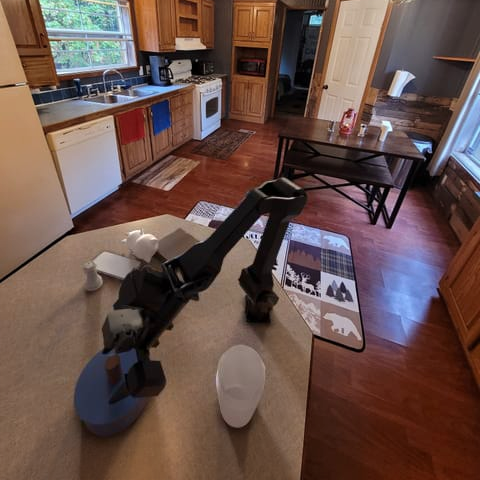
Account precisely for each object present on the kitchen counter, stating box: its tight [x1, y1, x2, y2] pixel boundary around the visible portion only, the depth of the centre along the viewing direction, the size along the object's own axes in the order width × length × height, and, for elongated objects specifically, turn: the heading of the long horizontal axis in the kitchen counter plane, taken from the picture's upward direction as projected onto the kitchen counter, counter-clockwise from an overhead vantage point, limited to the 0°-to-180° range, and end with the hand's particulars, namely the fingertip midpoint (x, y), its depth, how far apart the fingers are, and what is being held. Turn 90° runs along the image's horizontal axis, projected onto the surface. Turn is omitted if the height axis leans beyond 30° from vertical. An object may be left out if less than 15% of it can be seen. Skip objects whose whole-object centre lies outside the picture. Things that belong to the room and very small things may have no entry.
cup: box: [215, 344, 266, 429], centre depth 48 cm, size 9×9×12 cm
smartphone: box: [92, 251, 142, 281], centre depth 79 cm, size 7×1×15 cm
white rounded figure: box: [121, 228, 158, 263], centre depth 85 cm, size 9×11×12 cm
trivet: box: [154, 227, 201, 272], centre depth 88 cm, size 13×13×2 cm
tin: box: [83, 397, 150, 437], centre depth 50 cm, size 13×13×5 cm
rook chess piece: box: [83, 260, 103, 292], centre depth 72 cm, size 4×4×8 cm
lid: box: [73, 348, 143, 426], centre depth 48 cm, size 14×14×6 cm
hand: (107, 376), depth 48 cm, fingers open, 9 cm apart
